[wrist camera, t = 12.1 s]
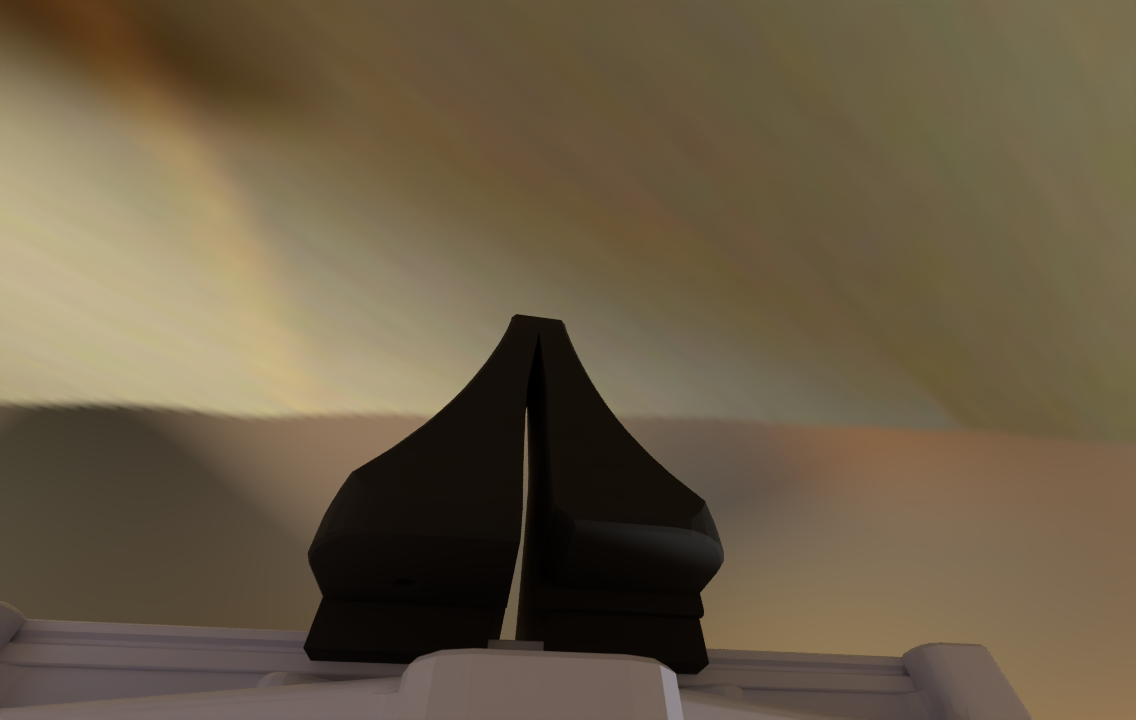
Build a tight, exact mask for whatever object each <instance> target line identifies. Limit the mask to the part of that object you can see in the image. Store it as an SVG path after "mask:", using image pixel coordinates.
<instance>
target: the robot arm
mask: <svg viewBox="0 0 1136 720" xmlns="http://www.w3.org/2000/svg"><path fill="white" fill-rule="evenodd" d="M526 408H527V427H528V471H529V473H528V475H529V476H528V498H527V511H526V523H525V536H524V547H523V559H522V570H521V582H520V593H519V604H518V615H517V626H516V636H515V640H499V639H500V634H501V629H502V624H503V618H504V614H505V608H507V603H508V598H509V594H510V589H511V584H512V579H513V574H514V569H515V564H516V559H517V555H518V550H519V544H520V538H521V526H522V510H523V460H524V434H525V433H524V432H525V414H526ZM308 559H309V564H310V567H311V569H312V572H313V574H314V576H315V579H316V581H317V584H318V586H319V588H320V590H321V593H322V595H323V598H322V601H321V603H320V606H319V608H318V611H317V613H316V616H315V618H314V621H313V624H312V626H311V629H310V631H289V630H265V629H241V628H218V627H196V626H172V625H150V624H127V623H103V622H79V621H58V620H35V619H25V617H24V615H23V614H22V613H21V612H20V611H18V610H17V609H16V608H14V607H13V606H11V605H9V604H7V603H5V602H2V601H0V720H1033V718H1032V716H1031V715H1030V713H1029V712H1028V710H1027V709H1026V707H1025V706H1024V704H1023V703H1022V701H1021V700H1020V698H1019V697H1018V695H1017V694H1016V692H1015V691H1014V689H1013V687H1012V686H1011V684H1010V683H1009V681H1008V680H1007V678H1006V677H1005V675H1004V674H1003V672H1002V671H1001V669H1000V668H999V666H998V665H997V663H996V662H995V660H994V658H993V657H992V655H991V654H990V652H989V651H988V650H987V648H986V647H984V646H982V645H979V644H978V645H977V644H959V643H928V644H924V645H920V646H917V647H915V648H913V649H911V650H909V651H908V652H906V653H904V654H903V656H902V657H887V656H863V655H841V654H818V653H794V652H772V651H771V652H770V651H749V650H725V649H706V647H705V642H704V638H703V633H702V629H701V625H700V620H699V618H702V617H703V616H704V609H703V604H702V600H701V596H700V592H701V591H702V590H703V589H704V588H705V586H706V585H707V584H708V583H709V581H710V580H711V579H712V578H713V577H714V575H715V574H716V573H717V571H718V570H719V569H720V567H721V565H722V563H723V561H724V551H723V548H722V545H721V541H720V538H719V534H718V531H717V529H716V526H715V523H714V521H713V519H712V516H711V514H710V512H709V509H708V507H707V505H706V502H705V501H704V500H703V499H702V498H700V497H699V496H698V495H697V494H696V493H694V492H693V491H691V490H690V489H689V488H688V487H687V486H685V485H684V484H683V483H682V482H680V481H679V480H678V479H676V478H675V477H674V476H673V475H672V474H670V473H669V472H668V471H667V470H666V469H665V468H664V467H663V466H662V465H660V464H659V463H658V462H657V461H656V460H655V459H654V458H653V457H652V456H650V454H648V452H646V450H645V449H643V447H642V446H641V445H640V444H639V443H638V442H637V441H636V440H635V439H634V438H633V437H632V436H631V435H630V434H629V433H628V431H627V430H626V429H625V428H624V427H623V425H622V424H621V423H620V422H619V421H618V419H617V418H616V417H615V415H614V414H613V413H612V411H611V410H610V409H609V408H608V406H607V405H606V403H605V402H604V400H603V399H602V397H601V396H600V394H599V393H598V391H597V390H596V388H595V387H594V385H593V383H592V382H591V380H590V378H589V377H588V375H587V373H586V371H585V369H584V367H583V366H582V364H581V362H580V360H579V358H578V356H577V354H576V352H575V350H574V347H573V345H572V343H571V341H570V338H569V336H568V333H567V330H566V328H565V324H564V323H563V322H562V320H556V319H549V318H541V317H534V316H526V315H519V314H516V315H515V316H513V317H512V319H511V322H510V324H509V327H508V329H507V331H506V333H505V334H504V336H503V338H502V339H501V341H500V343H499V344H498V346H497V347H496V349H495V350H494V352H493V353H492V355H491V356H490V358H489V359H488V360H487V362H486V363H485V364H484V365H483V367H482V368H481V369H480V370H479V372H478V373H477V374H476V375H475V376H474V378H473V379H472V380H471V381H470V382H469V383H468V384H467V386H466V387H465V388H464V389H463V390H462V391H461V392H460V393H459V394H458V395H457V396H456V397H455V398H454V399H453V400H452V401H451V402H450V403H449V404H447V405H446V406H445V407H444V408H443V409H442V410H441V411H440V412H438V413H437V414H436V415H435V416H434V417H433V418H431V419H430V420H429V421H428V422H427V423H426V424H424V425H423V426H421V427H420V428H419V429H417V430H416V431H415V432H413V433H412V434H410V435H409V436H408V437H406V438H405V439H404V440H402V441H401V442H400V443H398V444H397V445H395V446H394V447H392V448H391V449H389V450H388V451H386V452H384V453H383V454H381V455H380V456H378V457H376V458H375V459H373V460H371V461H370V462H368V463H366V464H365V465H363V466H361V467H360V468H358V469H356V470H355V471H353V472H352V473H351V474H350V475H349V477H348V478H347V480H346V481H345V483H344V484H343V485H342V487H341V488H340V490H339V491H338V493H337V495H336V496H335V498H334V500H333V501H332V503H331V504H330V506H329V508H328V509H327V511H326V513H325V515H324V517H323V519H322V521H321V524H320V526H319V528H318V531H317V533H316V535H315V537H314V540H313V542H312V544H311V546H310V549H309V551H308Z"/></svg>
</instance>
